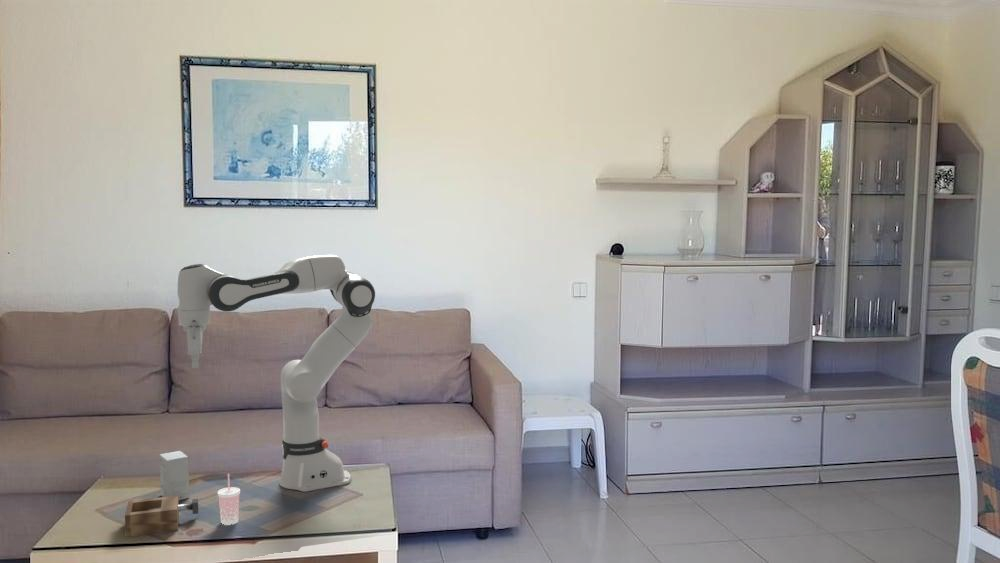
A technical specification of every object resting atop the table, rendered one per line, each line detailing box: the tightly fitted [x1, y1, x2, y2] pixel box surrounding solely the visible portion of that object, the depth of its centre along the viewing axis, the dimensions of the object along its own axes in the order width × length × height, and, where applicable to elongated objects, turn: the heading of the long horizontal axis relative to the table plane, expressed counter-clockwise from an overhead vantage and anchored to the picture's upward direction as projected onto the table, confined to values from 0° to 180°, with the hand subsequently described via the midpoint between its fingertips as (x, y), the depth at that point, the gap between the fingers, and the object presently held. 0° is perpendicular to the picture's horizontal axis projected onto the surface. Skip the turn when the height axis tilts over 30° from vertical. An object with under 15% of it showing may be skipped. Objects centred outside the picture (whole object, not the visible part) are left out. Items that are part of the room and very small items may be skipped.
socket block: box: [124, 496, 180, 538], centre depth 218 cm, size 13×11×6 cm
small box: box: [159, 450, 190, 501], centre depth 240 cm, size 8×6×13 cm
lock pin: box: [149, 498, 199, 515], centre depth 221 cm, size 13×3×3 cm, turn 111°
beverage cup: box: [217, 473, 241, 526], centre depth 221 cm, size 6×6×14 cm
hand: (195, 364), depth 235 cm, fingers open, 8 cm apart
